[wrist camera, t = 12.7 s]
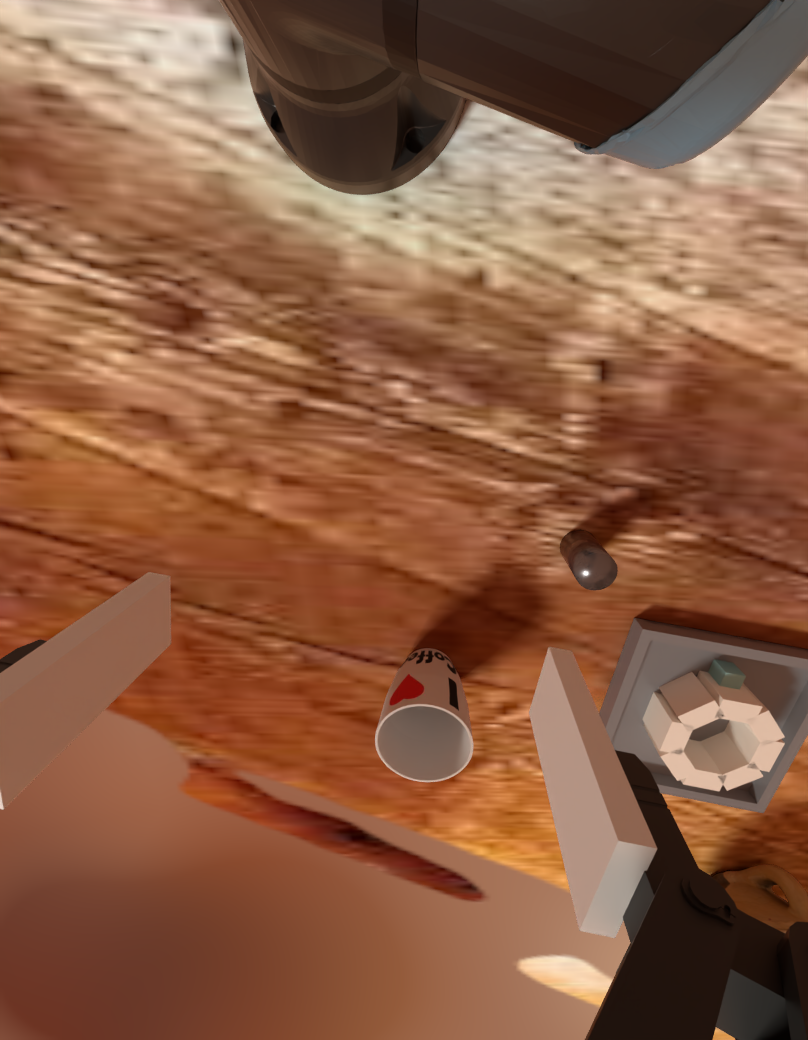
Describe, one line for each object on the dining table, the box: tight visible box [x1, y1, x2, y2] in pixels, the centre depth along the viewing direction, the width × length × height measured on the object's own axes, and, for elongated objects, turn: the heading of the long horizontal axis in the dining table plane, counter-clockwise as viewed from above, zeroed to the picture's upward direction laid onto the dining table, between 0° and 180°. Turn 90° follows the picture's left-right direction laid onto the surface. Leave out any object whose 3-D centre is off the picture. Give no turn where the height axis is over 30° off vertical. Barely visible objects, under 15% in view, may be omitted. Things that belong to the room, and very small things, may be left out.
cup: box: [375, 648, 473, 782], centre depth 43 cm, size 8×8×10 cm
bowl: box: [712, 864, 808, 933], centre depth 48 cm, size 18×18×10 cm
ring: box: [642, 659, 785, 791], centre depth 43 cm, size 10×12×4 cm
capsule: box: [560, 530, 617, 590], centre depth 39 cm, size 3×3×6 cm
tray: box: [599, 618, 808, 813], centre depth 45 cm, size 18×18×2 cm
